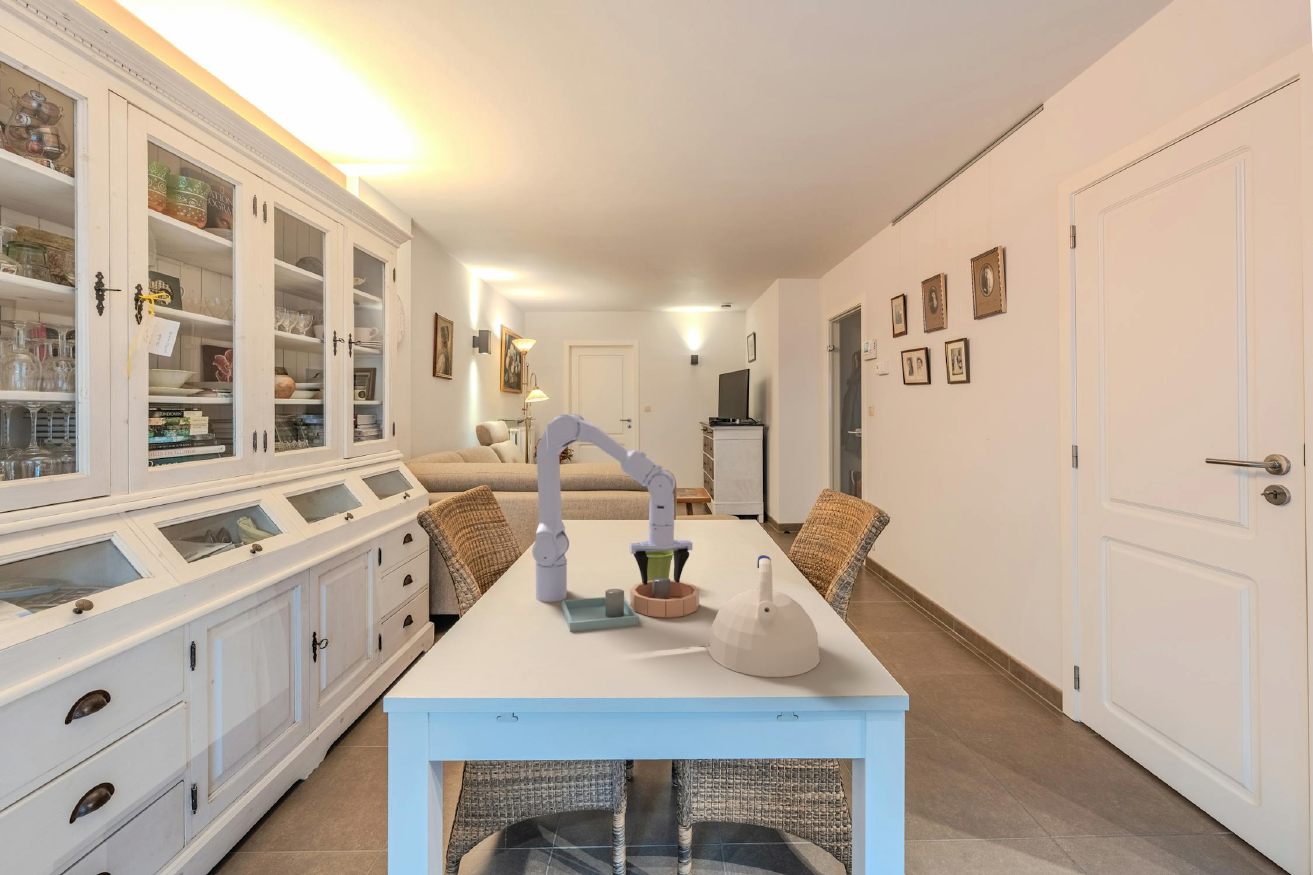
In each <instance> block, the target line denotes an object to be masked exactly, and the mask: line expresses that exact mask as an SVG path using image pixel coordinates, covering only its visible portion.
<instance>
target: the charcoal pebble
mask: <svg viewBox="0 0 1313 875" xmlns="http://www.w3.org/2000/svg"><path fill="white" fill-rule="evenodd" d="M670 580H671V579H670V577H669V578H666V577H656V578H654V579H653V598H654V599H670Z"/></svg>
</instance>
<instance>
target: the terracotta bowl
mask: <svg viewBox="0 0 1313 875" xmlns="http://www.w3.org/2000/svg"><path fill="white" fill-rule="evenodd" d="M629 595H630V598H629V599H630V601H629V604H630V605H631V607H632V608H633V610H634V611H635V612H636V613H638V614H640V615H644V616H647V617H653V618H663V619H664V618H665V619H666V618H668V619H669V618H677V617H684V616H688V615H690V614H692V613H695V612H697V610H698V608H699V606H700V589H699V588H698V587H697V586H695V584H692V583H688V582H686V581H682V580H680V581H679V582H676V581H674V579H670V599H654V598H653V580H652V581H648V582H647V585H644V584H643V583H642V582H639V583H636V584H634V585H633V587H631V588H630V593H629Z"/></svg>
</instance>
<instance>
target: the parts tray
mask: <svg viewBox="0 0 1313 875" xmlns="http://www.w3.org/2000/svg"><path fill="white" fill-rule="evenodd" d="M561 610H562V613H563V616H564V619H565V621H566V625H567V628H568V631H569V632H570V633H571V632H579V631H581V632H582V631H589V630H591V631H592V630H600V629H601V630H602V629H610V628H620V627H629V626H631V627H632V626H639V615H638V614H637V612H636V611H634V610H633V608H632V607H631V605H630V601H628V599H627V598H626V597H625V596H624V615H623V616H622V617H617V618H610V617H607V616H606V615H605V596H602V597H601V596H600V597H589V598H588V597H587V598H577V599H566V600H565V599H563V600H561Z"/></svg>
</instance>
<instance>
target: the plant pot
mask: <svg viewBox="0 0 1313 875" xmlns="http://www.w3.org/2000/svg"><path fill="white" fill-rule="evenodd" d="M646 554H647V557H648V558H649V559H648V567H647V579H648V581H652V580H653V579H654V578H656V577H666V578H669V579H670V571H671V564H672V559H673V558H674V555H673V551H658V552H646Z"/></svg>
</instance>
